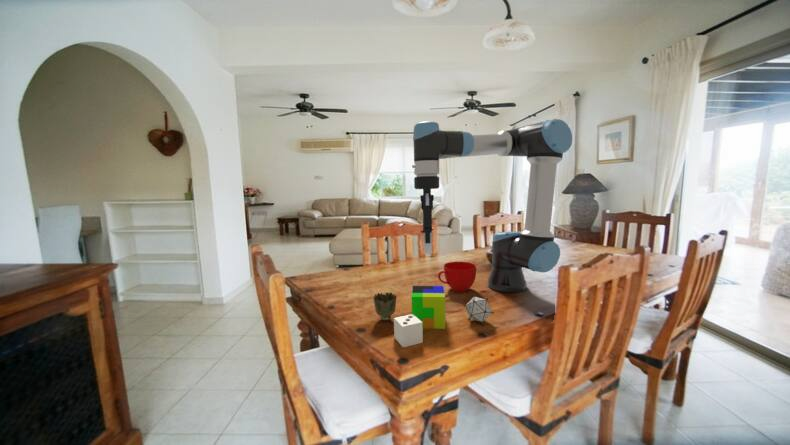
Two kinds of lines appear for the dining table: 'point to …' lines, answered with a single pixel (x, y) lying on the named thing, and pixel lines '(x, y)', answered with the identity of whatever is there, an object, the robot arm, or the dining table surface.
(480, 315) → the game die
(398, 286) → the dining table surface
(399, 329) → the pip block
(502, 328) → the dining table surface
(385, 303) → the cup
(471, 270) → the ceramic cup
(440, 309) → the puzzle toy
